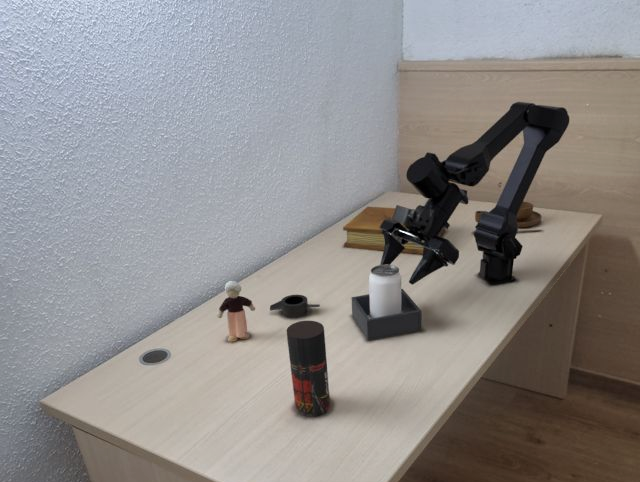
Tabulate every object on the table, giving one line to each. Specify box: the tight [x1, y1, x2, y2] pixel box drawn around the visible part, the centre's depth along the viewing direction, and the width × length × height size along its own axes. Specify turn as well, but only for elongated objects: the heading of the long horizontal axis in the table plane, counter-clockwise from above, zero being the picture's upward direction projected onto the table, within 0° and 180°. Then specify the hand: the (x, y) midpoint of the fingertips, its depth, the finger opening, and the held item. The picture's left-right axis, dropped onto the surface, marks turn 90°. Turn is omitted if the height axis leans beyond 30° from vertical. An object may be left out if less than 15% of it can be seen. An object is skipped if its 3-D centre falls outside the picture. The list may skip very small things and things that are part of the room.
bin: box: [350, 288, 423, 341], centre depth 127 cm, size 11×11×4 cm
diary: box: [342, 206, 446, 255], centre depth 168 cm, size 23×19×6 cm
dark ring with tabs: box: [269, 294, 321, 319], centre depth 135 cm, size 8×10×3 cm
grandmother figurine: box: [217, 280, 256, 343], centre depth 124 cm, size 8×4×13 cm, turn 117°
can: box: [368, 264, 402, 319], centre depth 125 cm, size 6×6×12 cm
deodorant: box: [286, 320, 331, 418], centre depth 101 cm, size 6×6×15 cm
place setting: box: [472, 200, 542, 234], centre depth 172 cm, size 18×20×6 cm
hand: (395, 276), depth 124 cm, fingers open, 9 cm apart
